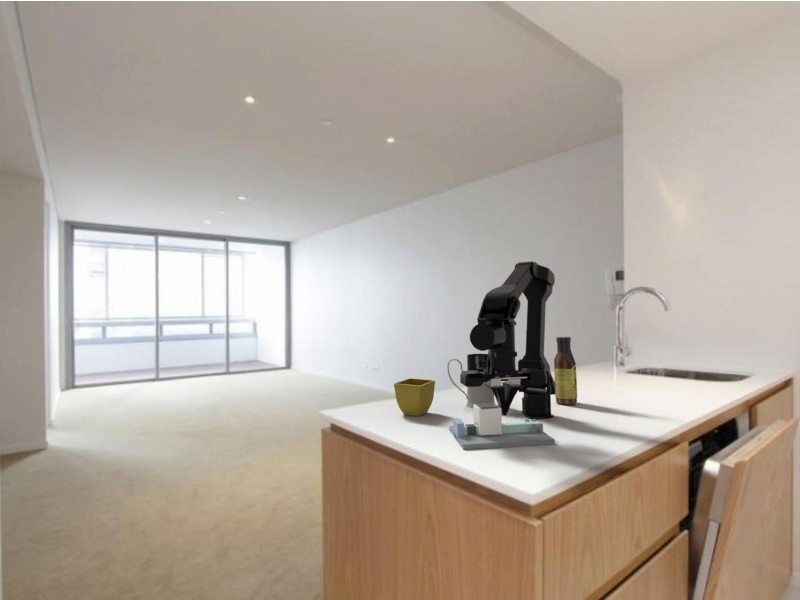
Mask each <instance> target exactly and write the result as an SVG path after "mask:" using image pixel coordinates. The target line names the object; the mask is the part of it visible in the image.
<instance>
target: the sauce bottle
mask: <svg viewBox="0 0 800 600" xmlns="http://www.w3.org/2000/svg"><path fill="white" fill-rule="evenodd" d="M555 338H556V339H555V340H556V343H557V346H556V347H557V348H556V351H557V352H556V355H555V356H554V359H553V375H554V377H553V379H554V382H555V384H556V390H555V393H556V394H554V398H555V402H556V403H557V404H558V405H566V406H567V405H569V406H570V405H576V404H577V403H578V387H577V386H578V385H577V384H578V383H577V382H578V381H577V380H578V379H577V364H576V363H577V362H576V360H575V358H574V355H573V353H572V349H571V341H572V339H571V336H556V337H555Z"/></svg>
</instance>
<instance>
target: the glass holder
mask: <svg viewBox="0 0 800 600" xmlns="http://www.w3.org/2000/svg"><path fill="white" fill-rule="evenodd" d="M477 355H484V356H485V358H487V357H488V353H471V354H467V356H466V361H467V366H466V367H467V370H466V371H473V370H477V371H479V372H481V373H482V374H484V369H477V368H476V356H477ZM453 361H457V362H458V364H459V365H460V371H461V372H462V371H464V369H463V363H462V362H461V361H460V360H459V359H458V358H452V359H449V361H448V363H447V373H448V377H449V379H450V381H451V383H452V384H453V386H455V387H456V388H457V389H458V390H459V391H461V392H462V394H464V396H466V397H465V398H466V401H467V402H466V404H465V405H466V407H467V408H470V409H473V404H477V403H494V404H496V402H495V395H494V393H493V391H492V390H491V389H490V388H488V387H487V386H485V383H487V382H484V383H483V384H482V385H481V386H480V387H466V389H467V392H465V391H464V390H463V389H462V388H460V387H459V386H458V385H457V383H455V382H454V380H453V378H452V376H451V373H450V368H449V367H450V364H451V362H453ZM489 374H490V373H489Z"/></svg>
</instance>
